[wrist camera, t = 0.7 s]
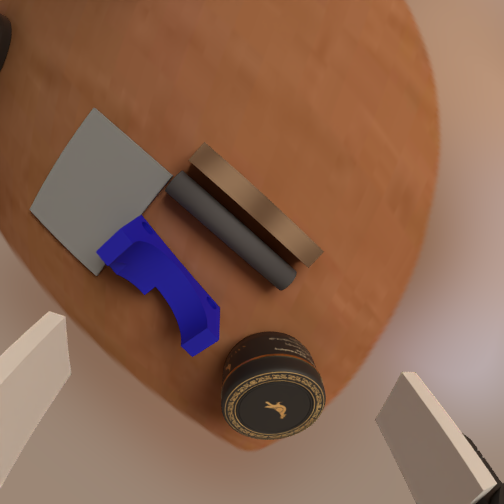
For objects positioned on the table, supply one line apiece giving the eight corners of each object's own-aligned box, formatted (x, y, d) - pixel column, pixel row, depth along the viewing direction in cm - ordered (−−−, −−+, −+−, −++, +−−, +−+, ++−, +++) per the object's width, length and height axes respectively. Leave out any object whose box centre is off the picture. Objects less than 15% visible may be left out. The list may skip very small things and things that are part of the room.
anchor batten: (192, 161, 27) (188, 160, 24) (207, 144, 26) (204, 142, 24) (302, 259, 30) (308, 267, 27) (317, 245, 29) (323, 251, 27)
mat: (32, 209, 27) (29, 209, 26) (95, 108, 25) (93, 107, 24) (98, 274, 29) (96, 276, 28) (173, 175, 27) (171, 175, 26)
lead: (172, 186, 28) (161, 194, 26) (186, 167, 27) (175, 174, 24) (280, 280, 31) (277, 294, 29) (297, 266, 30) (295, 280, 27)
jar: (247, 311, 31) (250, 353, 23) (327, 344, 32) (348, 386, 25) (208, 379, 33) (204, 426, 26) (283, 404, 34) (292, 449, 27)
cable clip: (109, 243, 28) (84, 262, 22) (141, 214, 27) (120, 228, 21) (186, 330, 31) (180, 364, 25) (219, 307, 30) (219, 339, 25)
